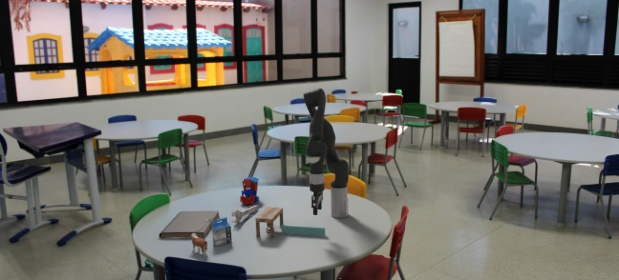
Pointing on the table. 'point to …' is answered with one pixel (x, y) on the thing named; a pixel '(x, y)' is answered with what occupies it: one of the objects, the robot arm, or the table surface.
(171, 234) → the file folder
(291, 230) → the long teal stick
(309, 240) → the table surface
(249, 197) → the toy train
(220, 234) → the label tape box
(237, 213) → the wrench
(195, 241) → the bull figurine
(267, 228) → the puck
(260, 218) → the bench
